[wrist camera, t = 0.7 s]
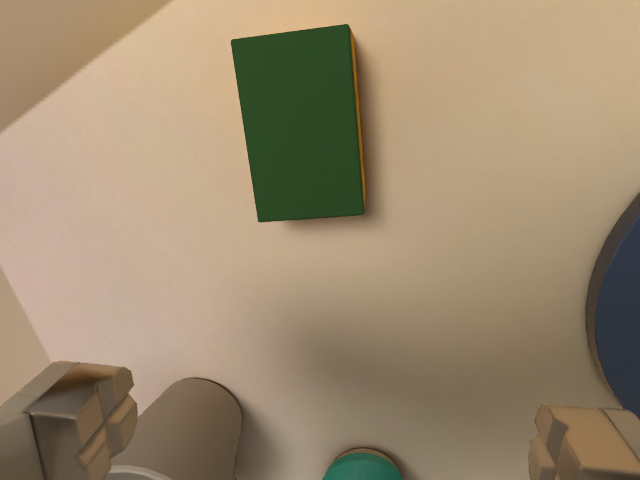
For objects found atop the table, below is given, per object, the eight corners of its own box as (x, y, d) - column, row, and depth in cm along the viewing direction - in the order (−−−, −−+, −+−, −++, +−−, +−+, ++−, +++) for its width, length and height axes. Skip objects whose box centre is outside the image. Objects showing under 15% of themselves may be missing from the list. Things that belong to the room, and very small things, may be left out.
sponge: (254, 48, 23) (229, 39, 19) (353, 35, 22) (348, 23, 18) (275, 202, 25) (257, 222, 21) (365, 196, 24) (363, 215, 20)
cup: (213, 345, 28) (148, 445, 20) (298, 459, 30) (270, 591, 22) (125, 391, 30) (35, 499, 22) (211, 495, 32) (157, 629, 24)
